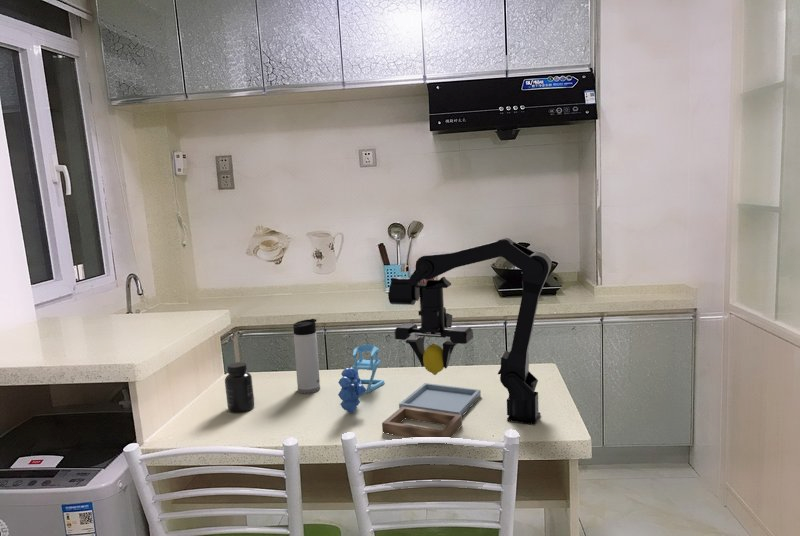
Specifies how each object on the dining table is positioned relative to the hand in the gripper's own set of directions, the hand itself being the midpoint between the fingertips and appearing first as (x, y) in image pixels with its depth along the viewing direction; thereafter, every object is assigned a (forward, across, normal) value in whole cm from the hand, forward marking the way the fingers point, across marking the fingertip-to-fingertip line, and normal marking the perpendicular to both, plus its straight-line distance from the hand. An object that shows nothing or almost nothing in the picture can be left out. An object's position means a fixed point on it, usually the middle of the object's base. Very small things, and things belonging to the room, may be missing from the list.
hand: (434, 367), depth 138 cm
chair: (+11, +24, -9) cm, 28 cm away
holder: (+11, -1, +12) cm, 16 cm away
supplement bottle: (+11, +49, +15) cm, 53 cm away
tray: (+11, 0, -4) cm, 12 cm away
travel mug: (+11, +40, -3) cm, 41 cm away
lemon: (+2, 0, 0) cm, 2 cm away
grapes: (+11, +19, +8) cm, 23 cm away
